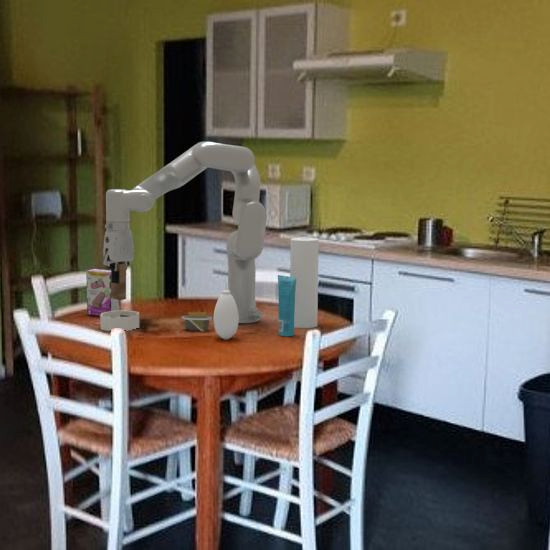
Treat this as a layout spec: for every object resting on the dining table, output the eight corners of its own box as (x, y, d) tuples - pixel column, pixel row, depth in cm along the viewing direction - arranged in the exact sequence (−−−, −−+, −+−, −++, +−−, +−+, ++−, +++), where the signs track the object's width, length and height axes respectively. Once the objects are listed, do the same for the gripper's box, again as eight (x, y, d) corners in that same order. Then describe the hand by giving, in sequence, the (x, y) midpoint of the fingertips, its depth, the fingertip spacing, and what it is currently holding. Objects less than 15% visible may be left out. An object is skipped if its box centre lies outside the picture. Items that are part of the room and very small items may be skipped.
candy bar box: (86, 315, 290) (85, 270, 287) (95, 313, 294) (94, 268, 292) (111, 318, 284) (110, 272, 282) (120, 316, 289) (119, 270, 286)
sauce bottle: (210, 340, 252) (210, 283, 249) (218, 335, 259) (218, 279, 256) (234, 342, 250) (234, 284, 247) (241, 337, 257) (241, 281, 254)
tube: (300, 335, 260) (300, 276, 258) (292, 337, 256) (292, 278, 253) (280, 332, 264) (280, 274, 261) (272, 335, 260) (272, 276, 257)
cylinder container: (285, 323, 278) (285, 236, 273) (309, 321, 282) (310, 235, 277) (297, 329, 269) (298, 239, 265) (322, 326, 273) (323, 238, 269)
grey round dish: (147, 326, 272) (146, 313, 271) (119, 332, 262) (119, 319, 261) (120, 321, 279) (120, 309, 278) (92, 328, 269) (92, 314, 268)
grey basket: (220, 336, 259) (220, 316, 258) (165, 335, 261) (165, 315, 260) (226, 328, 271) (226, 309, 270) (173, 327, 272) (172, 308, 272)
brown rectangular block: (125, 299, 269) (126, 263, 267) (120, 300, 267) (120, 264, 265) (116, 297, 271) (116, 262, 269) (110, 298, 269) (111, 262, 267)
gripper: (107, 229, 257) (108, 286, 259) (143, 226, 270) (143, 280, 272) (91, 227, 261) (92, 284, 264) (127, 224, 274) (128, 278, 277)
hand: (118, 281), depth 268 cm, fingers closed on brown rectangular block, 2 cm apart
